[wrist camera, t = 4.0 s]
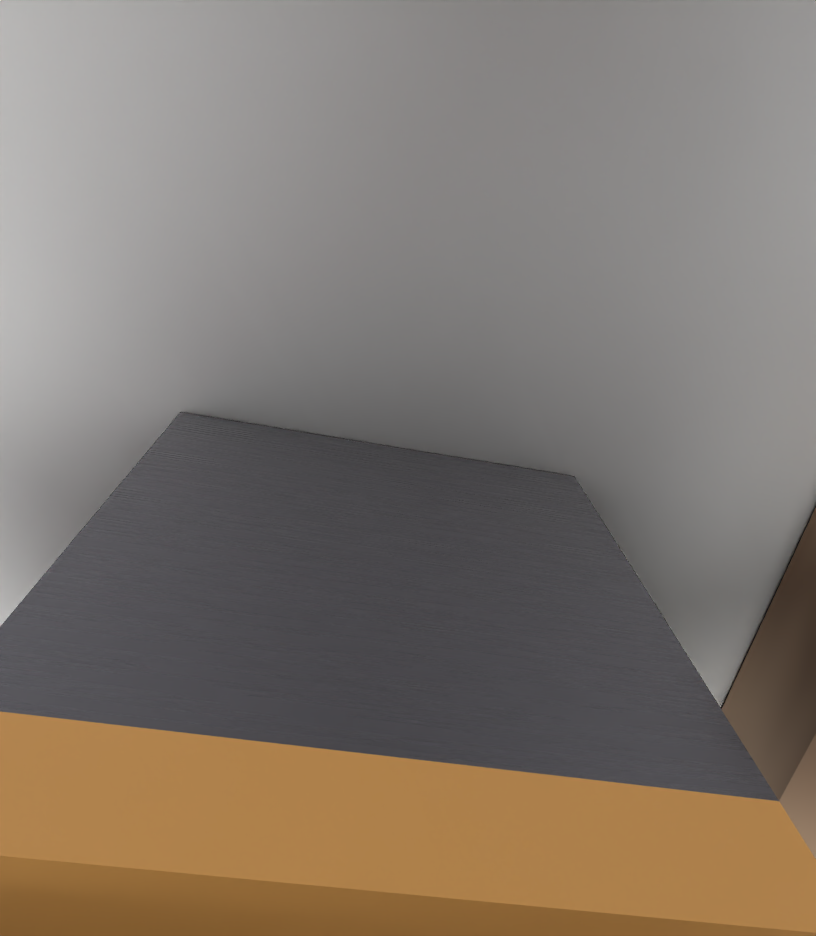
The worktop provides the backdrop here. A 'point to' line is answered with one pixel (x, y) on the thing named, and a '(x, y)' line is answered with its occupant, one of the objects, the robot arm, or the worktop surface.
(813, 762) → the wooden base plate fixture
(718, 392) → the worktop surface
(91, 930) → the orange-topped grey block
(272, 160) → the worktop surface
